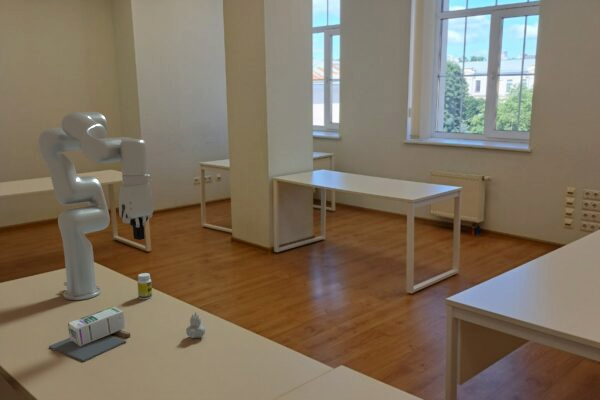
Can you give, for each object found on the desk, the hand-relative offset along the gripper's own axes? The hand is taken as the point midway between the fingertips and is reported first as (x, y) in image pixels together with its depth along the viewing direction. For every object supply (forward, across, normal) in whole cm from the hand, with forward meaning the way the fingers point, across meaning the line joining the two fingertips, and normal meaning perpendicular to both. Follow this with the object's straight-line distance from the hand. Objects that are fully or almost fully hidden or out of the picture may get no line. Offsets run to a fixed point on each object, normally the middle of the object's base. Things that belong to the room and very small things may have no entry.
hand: (139, 238), depth 170 cm
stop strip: (+27, +11, 0) cm, 29 cm away
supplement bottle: (+27, -14, -16) cm, 34 cm away
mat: (+27, +21, 0) cm, 34 cm away
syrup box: (+23, +9, 0) cm, 24 cm away
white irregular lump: (+27, +1, +23) cm, 36 cm away
